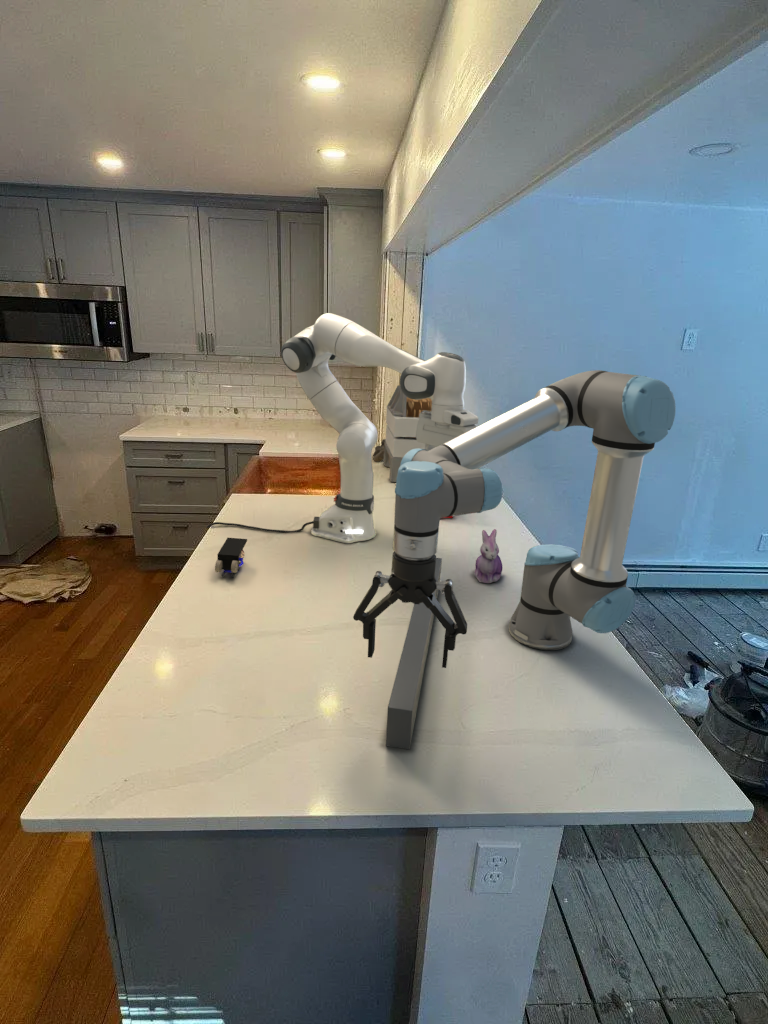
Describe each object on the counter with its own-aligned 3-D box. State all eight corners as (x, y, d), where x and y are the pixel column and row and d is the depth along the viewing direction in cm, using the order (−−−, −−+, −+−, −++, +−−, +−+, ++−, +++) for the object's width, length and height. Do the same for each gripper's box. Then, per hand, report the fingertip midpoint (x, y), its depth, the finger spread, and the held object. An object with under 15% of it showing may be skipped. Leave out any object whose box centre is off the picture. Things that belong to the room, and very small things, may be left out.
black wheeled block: (238, 584, 162) (249, 557, 175) (236, 562, 158) (247, 536, 172) (215, 584, 161) (227, 556, 175) (212, 561, 158) (225, 535, 171)
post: (424, 583, 165) (426, 556, 162) (439, 585, 164) (442, 558, 161) (385, 745, 103) (387, 707, 100) (409, 749, 102) (412, 711, 99)
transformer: (382, 463, 289) (386, 382, 275) (445, 464, 293) (451, 384, 279) (390, 482, 257) (394, 392, 243) (460, 483, 261) (468, 394, 247)
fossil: (371, 444, 309) (393, 428, 304) (382, 457, 312) (404, 442, 307) (367, 458, 290) (390, 442, 285) (378, 472, 293) (401, 456, 288)
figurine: (485, 587, 164) (491, 539, 159) (465, 572, 172) (469, 526, 167) (511, 581, 168) (517, 534, 163) (490, 567, 176) (495, 522, 171)
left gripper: (412, 410, 161) (410, 457, 165) (468, 421, 147) (464, 472, 151) (427, 408, 165) (424, 454, 169) (483, 418, 151) (479, 468, 155)
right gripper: (338, 553, 95) (336, 660, 102) (488, 570, 91) (475, 680, 99) (348, 536, 102) (346, 638, 109) (488, 551, 98) (476, 656, 106)
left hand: (444, 463), depth 160 cm, fingers open, 8 cm apart
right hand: (407, 658), depth 104 cm, fingers open, 13 cm apart
